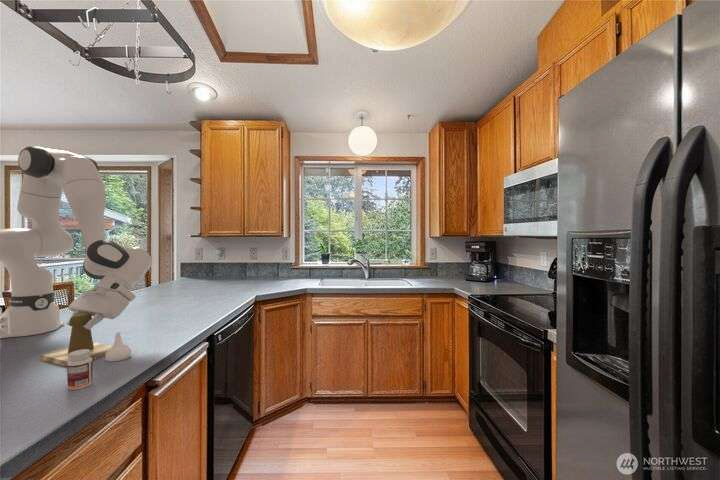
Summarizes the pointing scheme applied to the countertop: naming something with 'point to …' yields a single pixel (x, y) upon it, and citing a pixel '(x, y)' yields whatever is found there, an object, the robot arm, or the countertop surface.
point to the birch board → (63, 355)
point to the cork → (80, 333)
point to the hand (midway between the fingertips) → (77, 326)
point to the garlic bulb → (118, 350)
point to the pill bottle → (79, 369)
